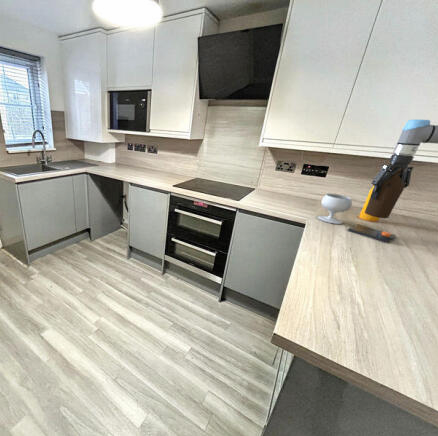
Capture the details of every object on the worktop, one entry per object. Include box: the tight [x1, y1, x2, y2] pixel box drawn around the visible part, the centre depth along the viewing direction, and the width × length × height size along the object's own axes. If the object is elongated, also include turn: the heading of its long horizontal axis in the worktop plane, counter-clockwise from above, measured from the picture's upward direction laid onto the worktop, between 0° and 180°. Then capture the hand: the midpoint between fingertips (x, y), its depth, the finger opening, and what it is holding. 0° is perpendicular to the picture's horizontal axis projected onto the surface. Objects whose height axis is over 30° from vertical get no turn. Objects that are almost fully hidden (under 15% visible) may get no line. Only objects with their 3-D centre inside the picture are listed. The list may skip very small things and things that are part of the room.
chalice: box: [317, 193, 353, 225], centre depth 139 cm, size 14×14×15 cm
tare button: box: [382, 231, 392, 237], centre depth 117 cm, size 3×3×2 cm
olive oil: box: [365, 168, 405, 219], centre depth 119 cm, size 11×11×25 cm
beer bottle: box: [358, 185, 380, 223], centre depth 143 cm, size 9×9×29 cm
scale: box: [347, 223, 396, 244], centre depth 124 cm, size 17×14×3 cm
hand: (383, 198), depth 120 cm, fingers closed on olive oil, 11 cm apart
